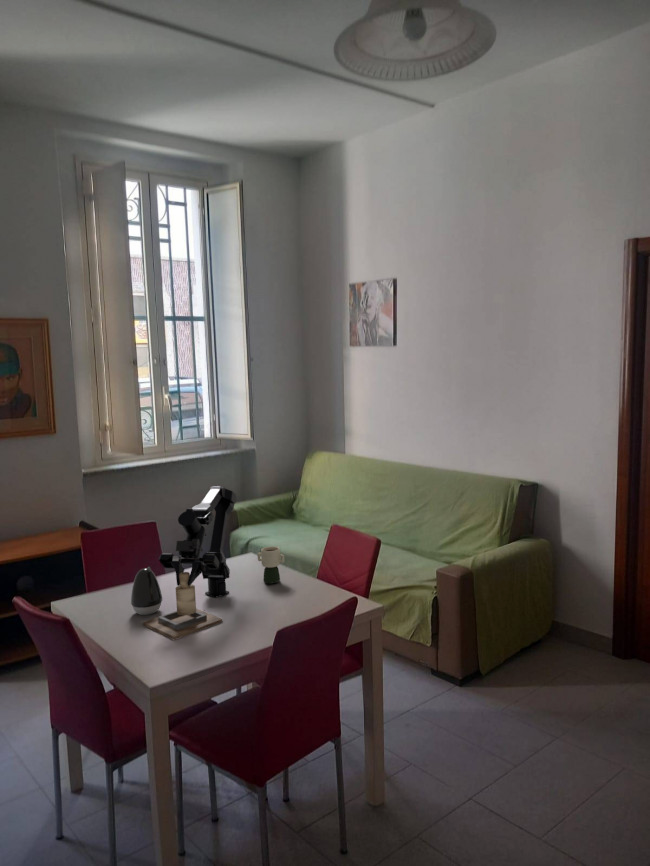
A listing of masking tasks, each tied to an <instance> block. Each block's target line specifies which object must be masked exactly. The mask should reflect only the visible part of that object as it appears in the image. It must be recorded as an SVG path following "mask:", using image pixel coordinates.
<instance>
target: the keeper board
mask: <svg viewBox="0 0 650 866" xmlns="http://www.w3.org/2000/svg"><path fill="white" fill-rule="evenodd" d="M221 623H223V618H221V617H218V616H215V615H213V614H212V613H208V612H205V611H203V610H201V609H198V608H196V612H195V613H193V614H190V615H179V614H177V610H175V611H171V612H169V613H165V614H163V615H160V616H158V617H157V616H156V617H154V618H151V619H147V620H144V621H142V626H144V627H147V628H148V629H151V630H152V631H154V632H156V633H159V634H161V635H163V636H165V637H167V638H170V639H171V640H174V641H175V640H179V639H181V638H183V637H187V636H188V635H191V634H194V633H196V632H199V631H201V630H205V629H207V628H209V627H213V626H216V625H218V624H221Z"/></svg>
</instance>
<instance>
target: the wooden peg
mask: <svg viewBox="0 0 650 866" xmlns="http://www.w3.org/2000/svg"><path fill="white" fill-rule="evenodd" d="M190 573H191V572H189V571H184V572H182V573H180V574H179V579H180V585H179V586H178V585H177V586H176V587H175V599H176V600H175V601H176V603H175V604H176V611H177V614H179V615H190V614H193V613H195V612H196V609H197V602H196V601H197V600H196V598H197V597H196V585H194V584H193V583H192V584H191V585H190V586H188V580H189V576H190Z"/></svg>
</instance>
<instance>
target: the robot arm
mask: <svg viewBox="0 0 650 866" xmlns="http://www.w3.org/2000/svg"><path fill="white" fill-rule="evenodd" d="M236 502H237V495H236V494H235V492H233V491H232V490H231V489H227V488H226V487H225V486H221V485H217V486H215V485H212V486H210V487H209V489H208V492H207V494H206V495H205V497H204V498H203V499H202V500H201V502H200V503H199V504H196V505H194V506H193V507H192V508H186V510H185V511H183V512H182V513H181V514H180V515H179V516H178V518H177V521H178V524H179V526H180V527H181V529H182V531H183V532H184V533H185V534H186V536H185V537H186V538H185V539H183V540H176V543H175V544H176V545H175V552H178V555H179V556H175V555H174V554H173V553H172V552H170V553H169V552H163V553H161V554H160V555H159V558H158V561H159V563H160V564H161V565H162V567H163V568H165V569H174V570H175V571H174V572H175V578H176V579H175V580H176V585H177V586H179V585H180V579H179V574H180V573H182V572H185V568H184V566H183V564H186V565H187V564H189V565H191V570H190V572H189V573H190V576H189V580H188V586H190V585H191V584H192V585H193V583H194V581H196V580H197V578H198V577H199V576H200V575H202V580H203V579H204V580H205V579H207V586H208V587H207V589H208V591H206V592H204V595H206V596H208V597H209V596H210V597H212V598H219V597H222V596H225V595H228V594H230V590H229V591H228V590H227V585H226V584H227V583H226V579H229V578H230V572H231V571H230V568H229V566H228V564H227V558H226V557H225V554H224V547H225V546H224V545H225V539H226V532H227V526H228V520H229V515H230V514H231V513H232V512H233V510H234V509H235V504H236ZM213 511H215V514H213V513H214V512H213ZM213 518H214V522H213V528H212V534H211V540H210V546H209V550H208V551H207V552H204V554H203V555H202V556H201V552H203V549H204V548H203V544H204V539H205V537H206V536H207V531H206V528H205V527H204V526H209V525H210V524H211V523H212V521H213ZM180 556H181V557H180ZM200 556H201V557H200ZM225 558H226V559H225Z"/></svg>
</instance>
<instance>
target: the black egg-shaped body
mask: <svg viewBox="0 0 650 866" xmlns="http://www.w3.org/2000/svg"><path fill="white" fill-rule="evenodd" d="M162 602H163V595H162V590H161V586H160V584H159V580H158V579H157V577H156V574H155V573H154V572H153V570H152V568H151V566H147V568H146V567H144V568H141V569H139V570H138V571H137V573H136V575H135V578H134V580H133V584H132V589H131V595H130V605H131V606H132V608H133V611H134V612H135V613H136V614H139V615H141V616H149V615H152V614H155V613H156V612H157V611H159V610H160V608H161V606H162Z"/></svg>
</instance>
